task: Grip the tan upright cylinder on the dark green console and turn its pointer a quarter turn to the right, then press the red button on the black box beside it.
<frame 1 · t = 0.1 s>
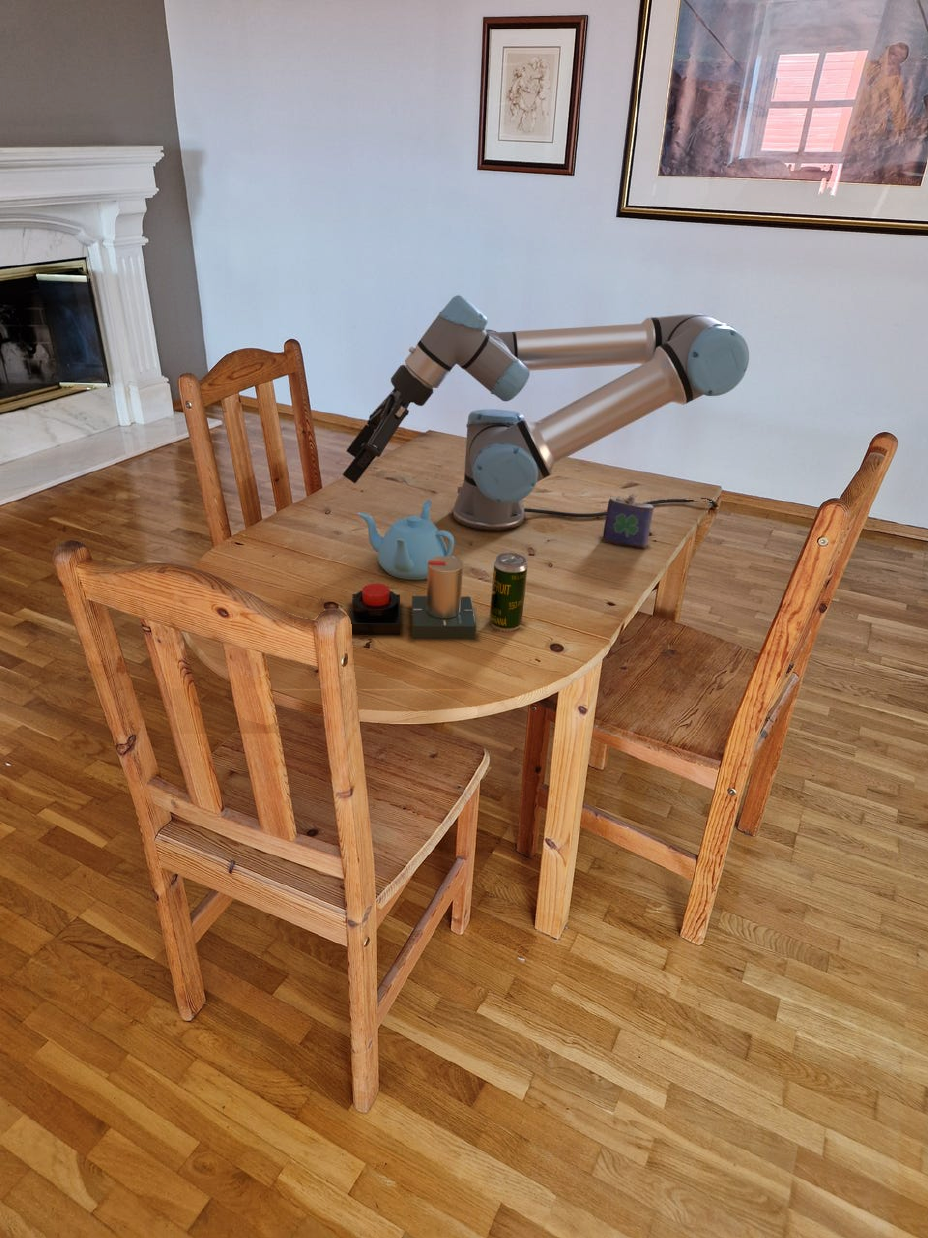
hand: (350, 466, 153), 15 cm above the table, tool tilted 35°, fingers open, 13 cm apart
console: (442, 623, 134), on the table
button box: (375, 619, 134), on the table
flask: (624, 544, 168), on the table
start button: (375, 595, 132), point 5 cm above the table, slide at 0.1 cm
teapot: (407, 568, 152), on the table
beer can: (505, 625, 135), on the table
tan upright cylinder: (444, 586, 131), point 7 cm above the table, hinge at 0.0°
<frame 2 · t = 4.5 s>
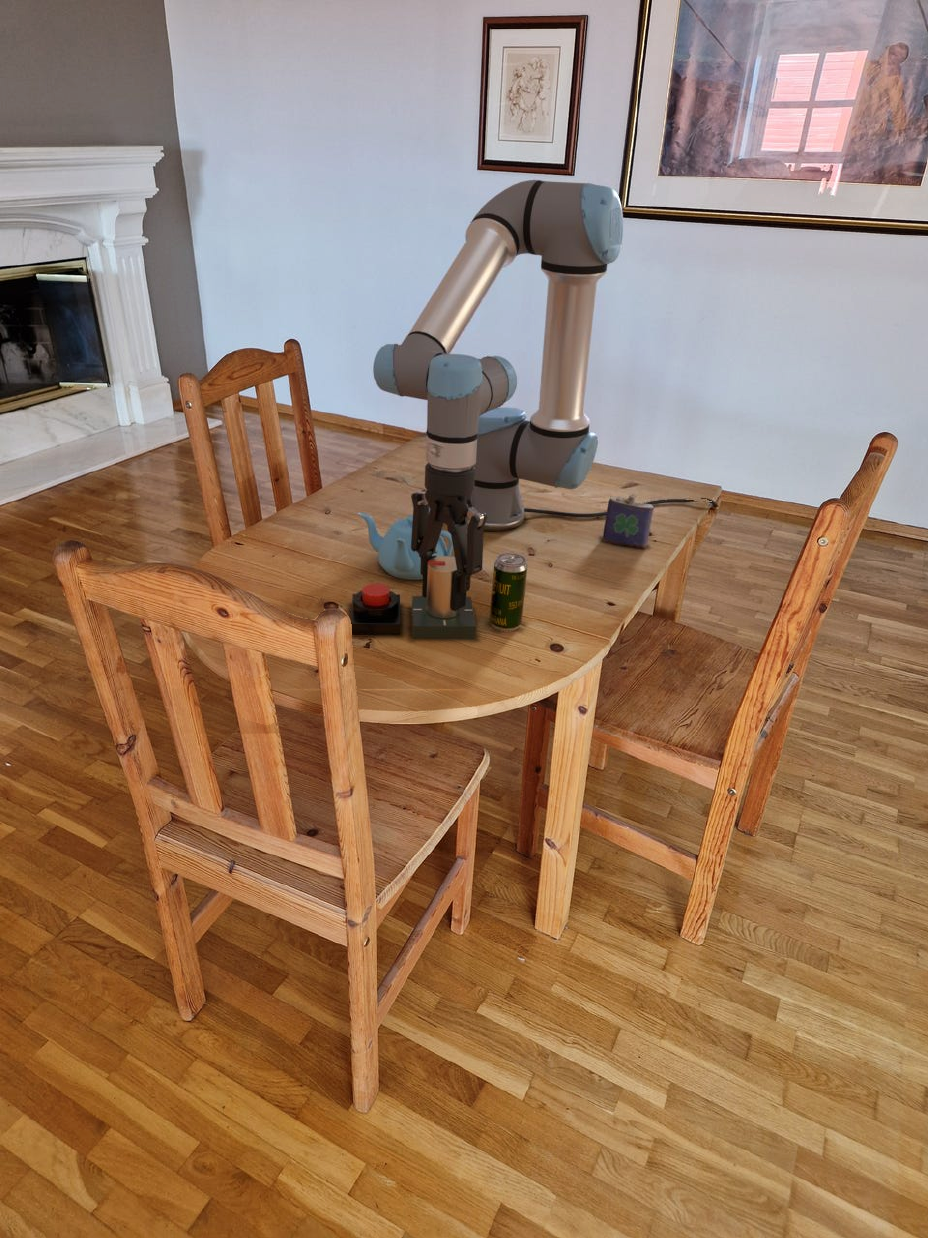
hand: (443, 600, 132), 4 cm above the table, tool pointing down, fingers closed on tan upright cylinder, 6 cm apart
tan upright cylinder: (444, 586, 131), point 7 cm above the table, hinge at -0.1°, touching gripper
everything else where it was.
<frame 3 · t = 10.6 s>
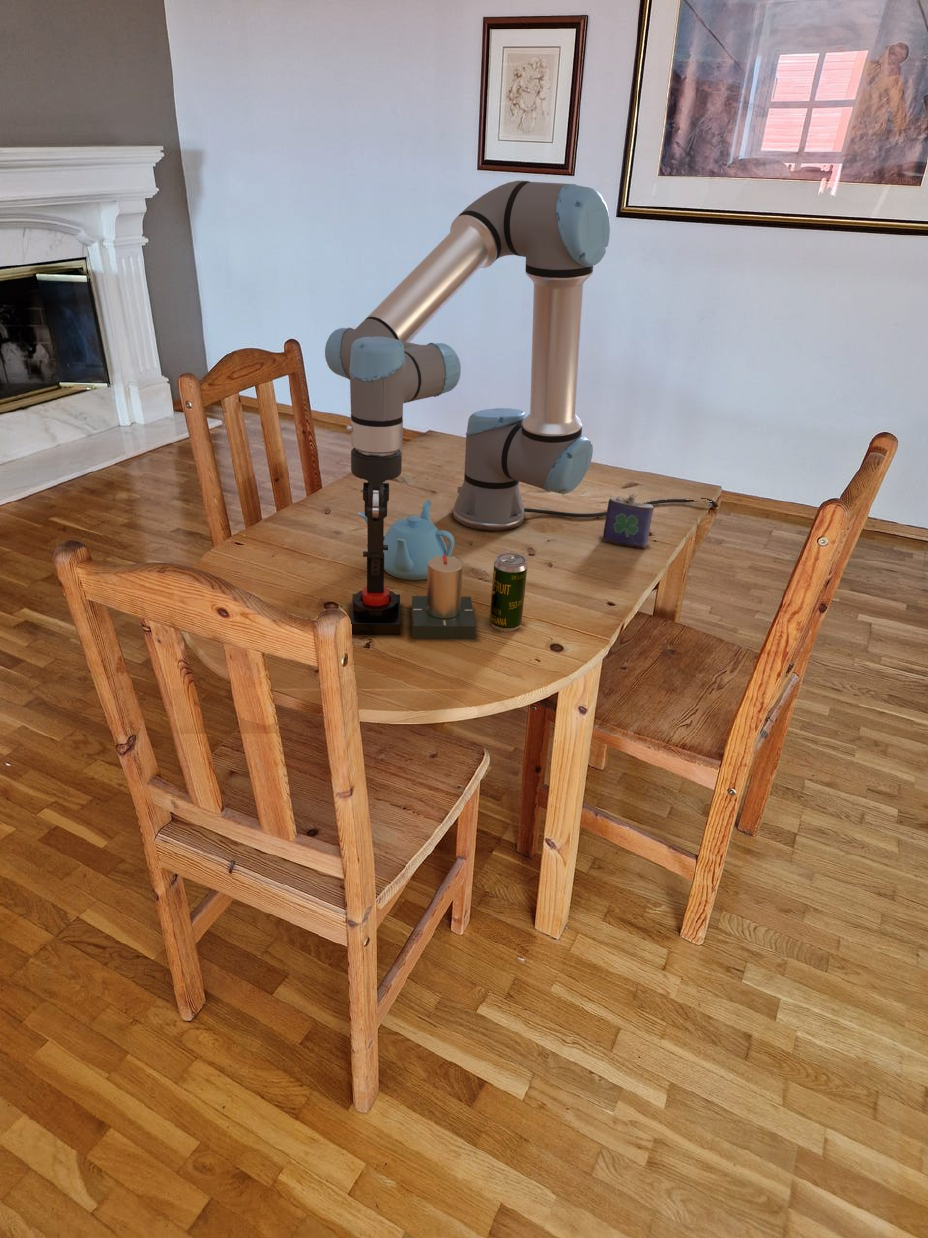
hand: (375, 589, 131), 6 cm above the table, tool pointing down, fingers closed
start button: (375, 596, 132), point 4 cm above the table, slide at -0.2 cm, touching gripper
tan upright cylinder: (444, 586, 131), point 7 cm above the table, hinge at -90.3°
everything else where it was.
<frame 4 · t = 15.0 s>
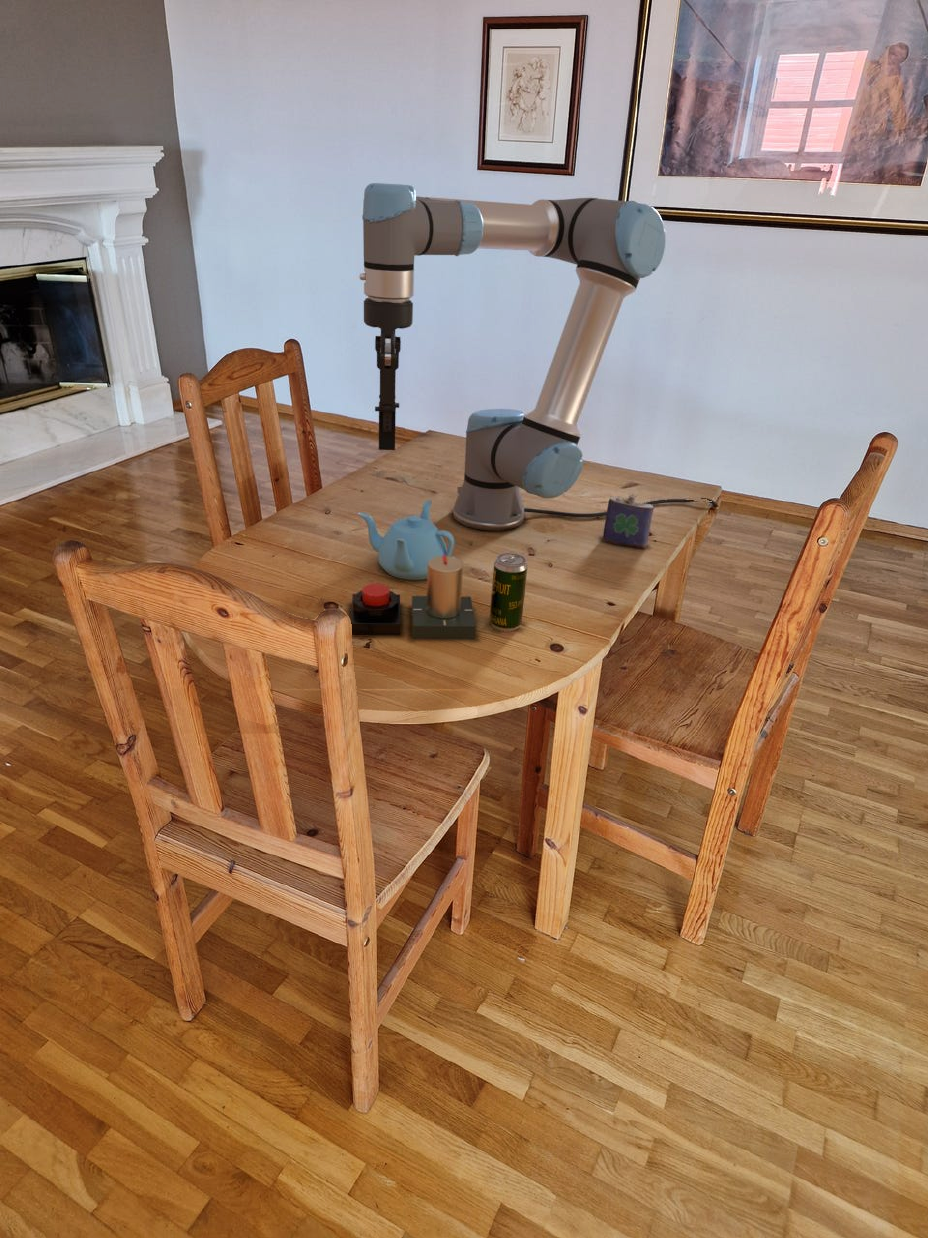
hand: (386, 448, 135), 24 cm above the table, tool pointing down, fingers closed
start button: (375, 595, 132), point 5 cm above the table, slide at 0.1 cm
everything else where it was.
at the end: tan upright cylinder at -90° (first picture: +0°); start button pushed in 1.0 cm at the most during the clip, back to where it started at the end; start button slide at 0.1 cm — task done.
